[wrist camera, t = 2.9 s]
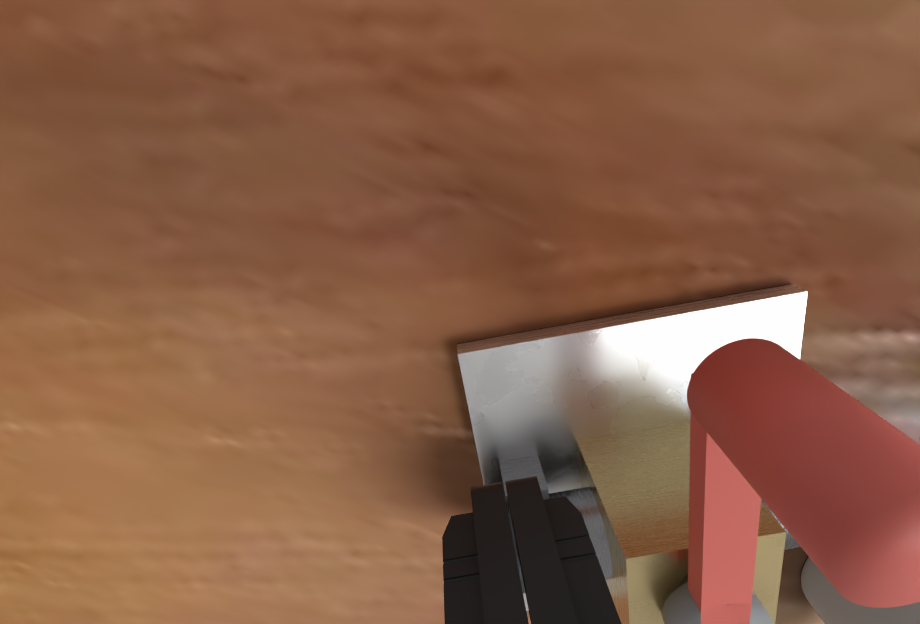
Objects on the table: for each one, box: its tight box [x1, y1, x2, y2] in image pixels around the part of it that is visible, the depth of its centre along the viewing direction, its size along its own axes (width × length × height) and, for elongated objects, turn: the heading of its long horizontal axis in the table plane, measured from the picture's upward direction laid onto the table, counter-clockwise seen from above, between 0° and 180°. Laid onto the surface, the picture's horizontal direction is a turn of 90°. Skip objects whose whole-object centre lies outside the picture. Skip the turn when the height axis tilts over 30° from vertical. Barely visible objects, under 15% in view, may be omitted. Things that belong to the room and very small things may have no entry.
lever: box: [662, 338, 920, 624], centre depth 14 cm, size 14×4×7 cm, turn 10°
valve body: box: [457, 284, 808, 624], centre depth 23 cm, size 16×18×8 cm
